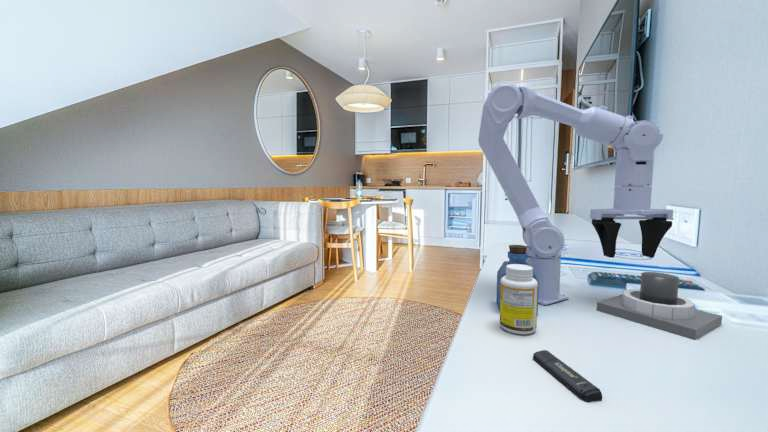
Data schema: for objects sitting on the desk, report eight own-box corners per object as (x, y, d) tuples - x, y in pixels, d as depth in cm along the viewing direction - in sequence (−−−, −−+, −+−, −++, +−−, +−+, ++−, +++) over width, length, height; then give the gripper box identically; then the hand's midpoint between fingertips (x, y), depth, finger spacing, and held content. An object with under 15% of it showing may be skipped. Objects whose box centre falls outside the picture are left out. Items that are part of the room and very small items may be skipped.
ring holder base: (596, 310, 61) (597, 291, 61) (626, 300, 67) (627, 283, 67) (695, 339, 49) (697, 317, 49) (721, 324, 55) (723, 304, 55)
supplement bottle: (513, 319, 57) (515, 261, 56) (543, 330, 53) (546, 267, 52) (492, 326, 54) (493, 265, 53) (522, 339, 50) (524, 272, 49)
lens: (653, 314, 55) (656, 279, 55) (632, 304, 60) (634, 271, 60) (684, 314, 55) (687, 279, 55) (660, 304, 60) (662, 272, 60)
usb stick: (530, 360, 44) (530, 349, 44) (548, 358, 45) (548, 347, 45) (583, 406, 35) (584, 392, 35) (605, 403, 35) (606, 390, 35)
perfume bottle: (537, 316, 59) (540, 249, 58) (500, 314, 60) (502, 248, 59) (529, 304, 65) (531, 244, 64) (496, 302, 66) (498, 243, 65)
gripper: (608, 186, 59) (604, 261, 60) (690, 186, 59) (684, 261, 60) (585, 186, 66) (581, 253, 67) (657, 186, 66) (652, 253, 67)
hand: (628, 256), depth 64 cm, fingers open, 7 cm apart
